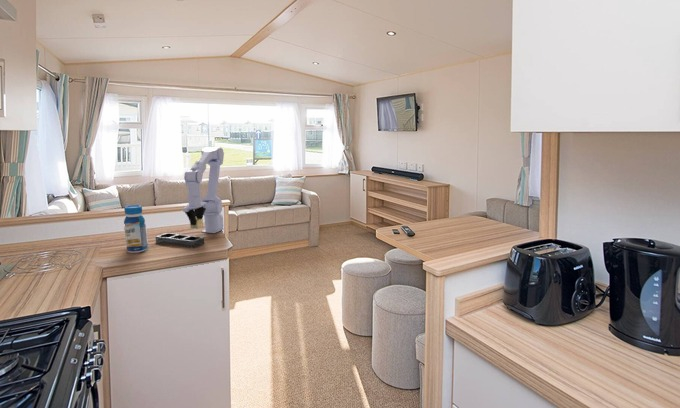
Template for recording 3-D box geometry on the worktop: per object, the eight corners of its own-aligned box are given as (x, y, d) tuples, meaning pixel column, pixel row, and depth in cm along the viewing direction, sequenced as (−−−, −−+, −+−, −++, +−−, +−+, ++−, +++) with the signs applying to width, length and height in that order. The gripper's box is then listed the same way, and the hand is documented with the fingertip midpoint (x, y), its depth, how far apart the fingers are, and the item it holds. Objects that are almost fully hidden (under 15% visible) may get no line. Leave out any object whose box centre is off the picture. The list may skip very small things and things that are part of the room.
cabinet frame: (166, 238, 190) (166, 232, 190) (204, 243, 183) (204, 237, 183) (156, 242, 184) (155, 236, 183) (194, 247, 177) (194, 241, 176)
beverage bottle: (151, 249, 174) (147, 205, 170) (133, 254, 167) (128, 209, 163) (141, 246, 178) (137, 203, 174) (122, 250, 171) (118, 206, 167)
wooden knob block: (196, 225, 188) (195, 217, 187) (203, 226, 187) (202, 217, 186) (190, 227, 184) (189, 219, 184) (197, 228, 183) (197, 219, 182)
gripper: (197, 192, 191) (199, 219, 193) (176, 197, 177) (178, 226, 180) (209, 193, 189) (211, 220, 191) (189, 198, 175) (191, 228, 178)
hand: (196, 223), depth 185 cm, fingers closed on wooden knob block, 4 cm apart
